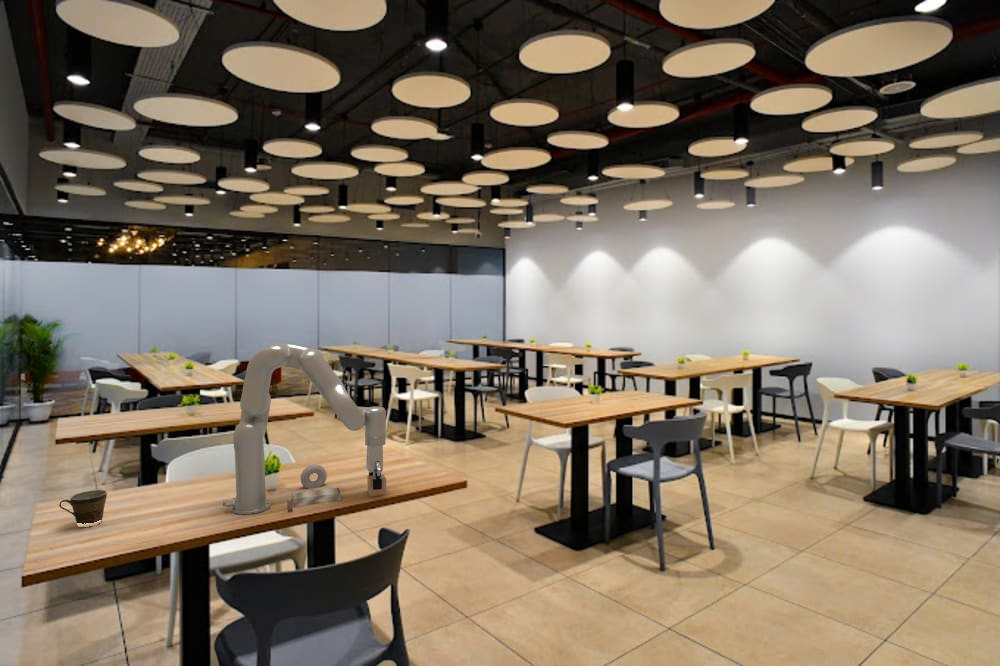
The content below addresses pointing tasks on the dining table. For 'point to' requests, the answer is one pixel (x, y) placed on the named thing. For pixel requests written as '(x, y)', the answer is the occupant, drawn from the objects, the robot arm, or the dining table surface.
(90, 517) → the ceramic cup
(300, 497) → the board
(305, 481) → the donut
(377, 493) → the taped shipping carton
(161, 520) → the dining table surface
